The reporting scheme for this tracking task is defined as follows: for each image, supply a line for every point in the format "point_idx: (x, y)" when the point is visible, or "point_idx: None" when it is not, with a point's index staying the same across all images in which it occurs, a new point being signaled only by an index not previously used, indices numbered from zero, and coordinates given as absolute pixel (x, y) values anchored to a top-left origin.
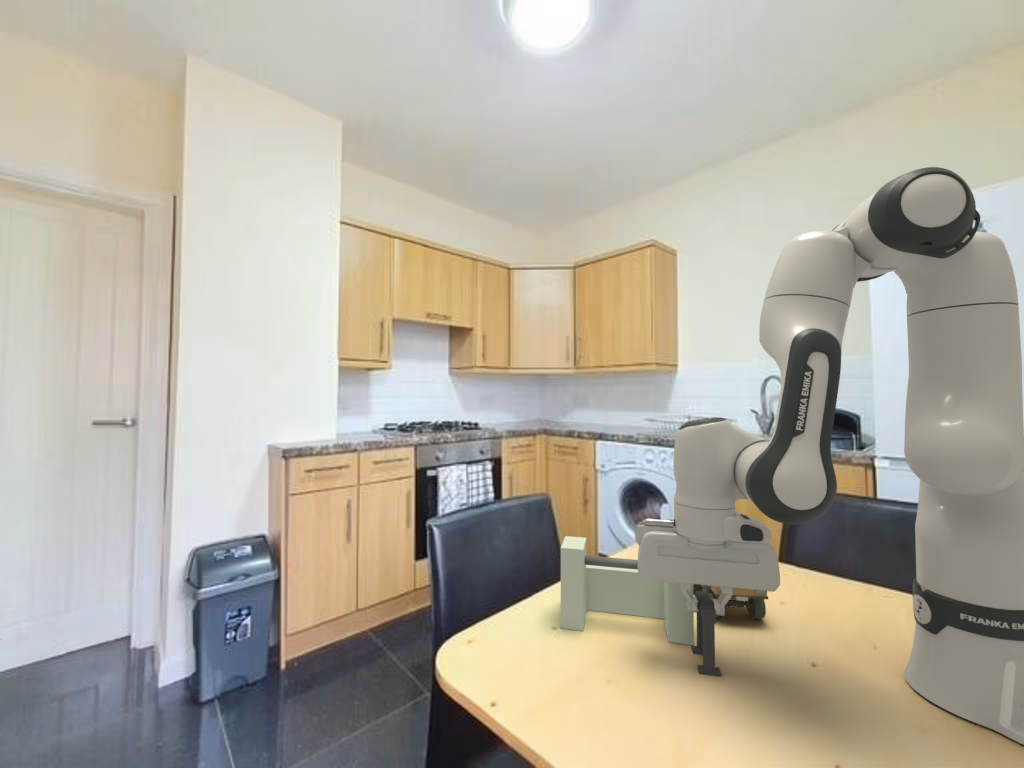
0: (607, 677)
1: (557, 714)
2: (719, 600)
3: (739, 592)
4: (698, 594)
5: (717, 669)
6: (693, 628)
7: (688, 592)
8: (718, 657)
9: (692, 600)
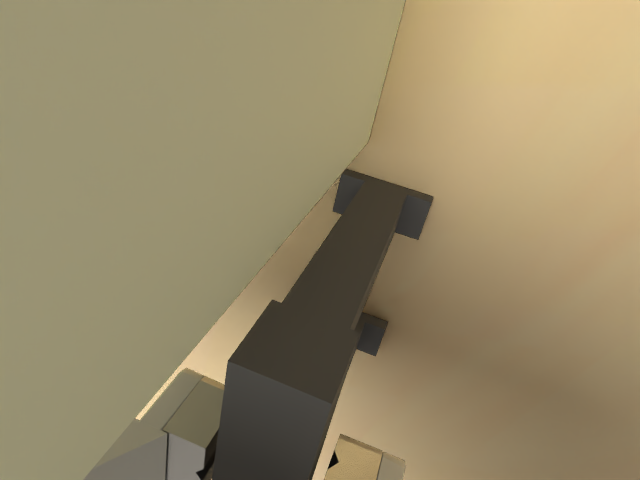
0: None
1: None
2: None
3: None
4: (234, 425)
5: (372, 339)
6: (344, 169)
7: (131, 455)
8: (438, 244)
9: (167, 475)
